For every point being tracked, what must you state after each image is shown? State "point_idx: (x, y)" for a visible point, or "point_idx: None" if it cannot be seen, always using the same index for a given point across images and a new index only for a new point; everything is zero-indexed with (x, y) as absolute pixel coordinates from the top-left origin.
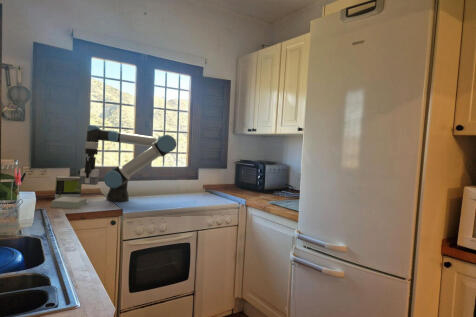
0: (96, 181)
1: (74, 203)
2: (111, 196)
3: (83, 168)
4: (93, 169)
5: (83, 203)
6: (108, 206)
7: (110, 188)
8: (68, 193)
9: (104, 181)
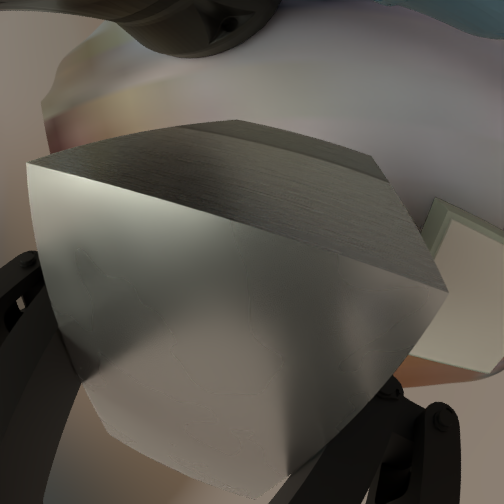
0: (320, 145)
1: None
2: (257, 5)
3: (128, 444)
4: (172, 367)
5: (485, 223)
6: (496, 64)
7: (175, 7)
8: None
9: (493, 38)
